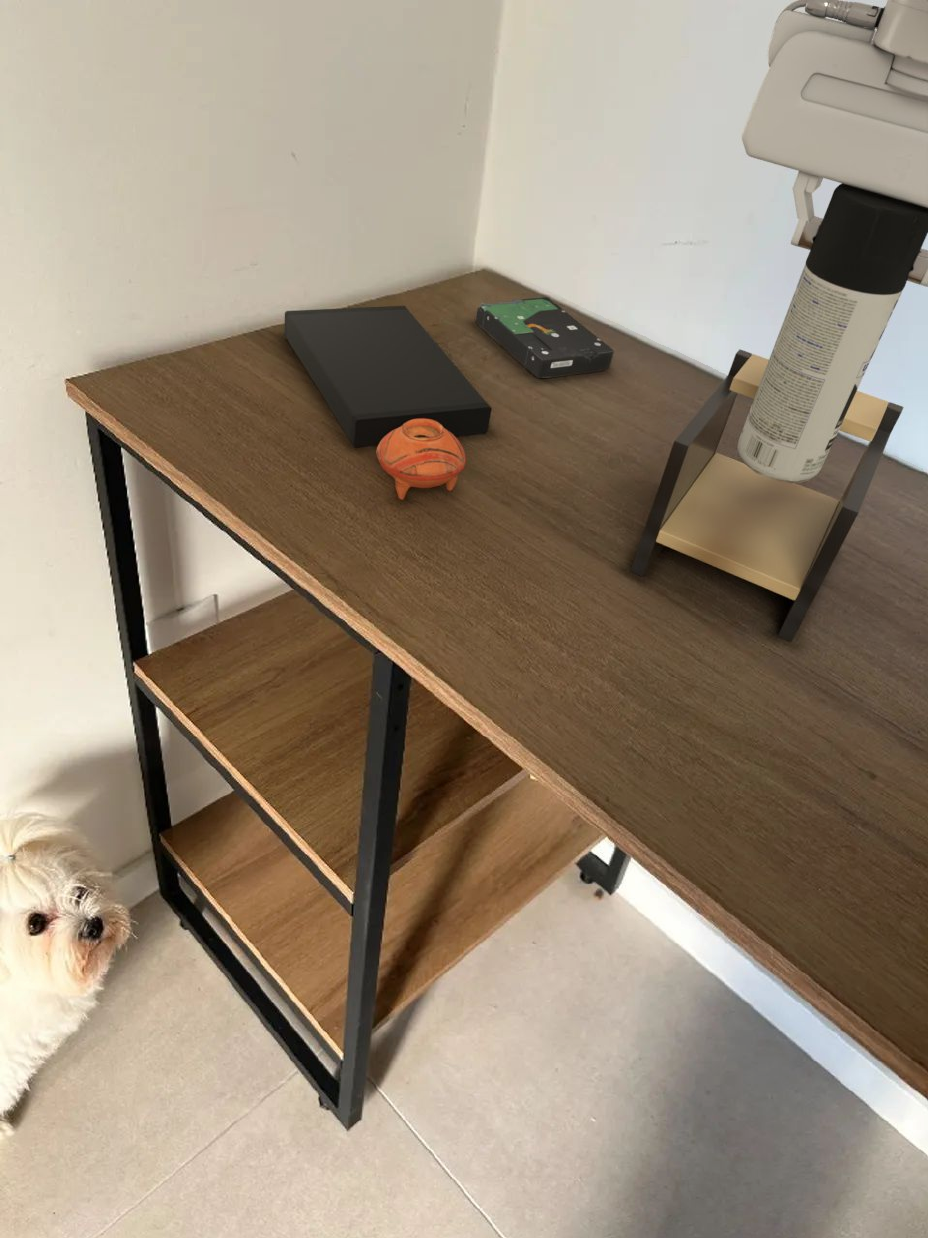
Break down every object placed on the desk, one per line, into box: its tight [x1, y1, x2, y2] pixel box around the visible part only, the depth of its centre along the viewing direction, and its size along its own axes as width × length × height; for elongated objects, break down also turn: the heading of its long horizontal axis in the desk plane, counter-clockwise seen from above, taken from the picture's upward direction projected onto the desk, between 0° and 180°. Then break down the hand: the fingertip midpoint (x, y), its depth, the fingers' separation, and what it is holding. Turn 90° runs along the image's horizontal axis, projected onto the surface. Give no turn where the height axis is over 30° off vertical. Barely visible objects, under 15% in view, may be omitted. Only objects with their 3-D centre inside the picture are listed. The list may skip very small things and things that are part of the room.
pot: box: [375, 418, 467, 501], centre depth 83 cm, size 8×8×7 cm
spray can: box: [736, 183, 928, 484], centre depth 66 cm, size 7×7×20 cm
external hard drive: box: [283, 305, 492, 448], centre depth 97 cm, size 14×23×3 cm, turn 25°
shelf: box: [630, 349, 904, 643], centre depth 79 cm, size 14×16×15 cm
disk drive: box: [475, 296, 615, 379], centre depth 110 cm, size 10×3×15 cm
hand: (859, 263), depth 63 cm, fingers closed on spray can, 6 cm apart
